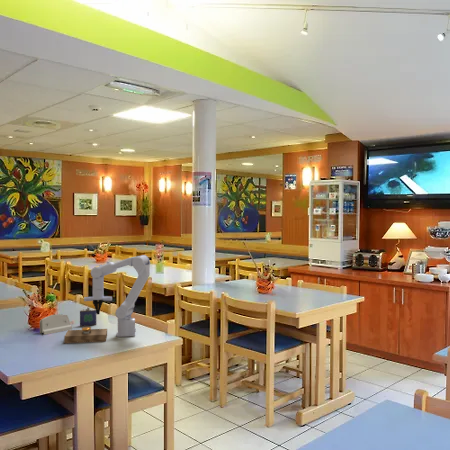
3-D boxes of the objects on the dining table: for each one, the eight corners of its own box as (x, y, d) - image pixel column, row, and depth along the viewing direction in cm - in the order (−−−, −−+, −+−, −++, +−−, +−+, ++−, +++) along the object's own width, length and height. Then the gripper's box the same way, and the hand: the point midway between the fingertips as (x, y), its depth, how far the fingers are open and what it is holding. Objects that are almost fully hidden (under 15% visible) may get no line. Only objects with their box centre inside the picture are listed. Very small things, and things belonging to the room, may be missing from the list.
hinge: (43, 335, 242) (40, 316, 244) (40, 336, 245) (37, 318, 247) (72, 329, 254) (69, 311, 256) (68, 330, 257) (65, 313, 259)
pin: (92, 338, 236) (92, 326, 236) (89, 340, 232) (89, 329, 232) (83, 338, 236) (83, 326, 236) (80, 340, 232) (80, 328, 232)
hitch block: (107, 335, 242) (107, 328, 242) (105, 341, 231) (105, 334, 231) (67, 336, 239) (67, 330, 238) (64, 343, 227) (64, 336, 227)
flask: (96, 324, 266) (96, 306, 265) (96, 325, 263) (96, 307, 263) (79, 325, 262) (79, 307, 262) (80, 326, 260) (80, 308, 259)
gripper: (112, 287, 251) (112, 311, 251) (85, 288, 248) (84, 312, 249) (111, 289, 244) (111, 314, 244) (83, 290, 241) (83, 315, 242)
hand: (98, 314), depth 246 cm, fingers closed
